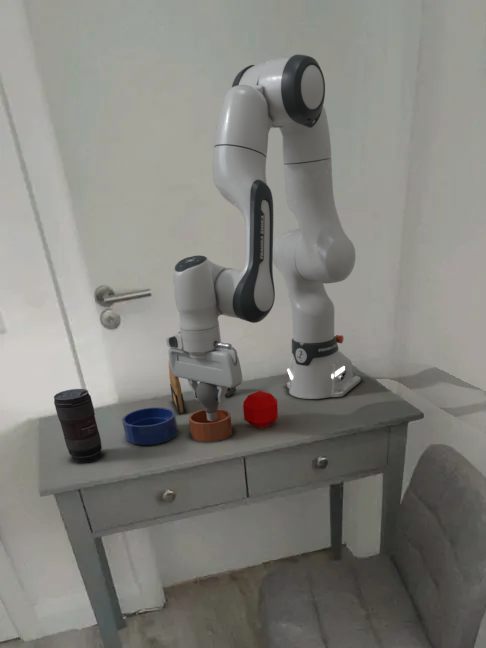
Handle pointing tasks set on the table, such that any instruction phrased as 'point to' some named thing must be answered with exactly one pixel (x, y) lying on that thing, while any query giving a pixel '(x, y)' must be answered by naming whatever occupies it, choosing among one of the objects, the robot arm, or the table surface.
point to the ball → (260, 409)
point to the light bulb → (208, 399)
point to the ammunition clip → (176, 392)
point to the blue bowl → (150, 426)
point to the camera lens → (78, 424)
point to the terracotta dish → (210, 426)
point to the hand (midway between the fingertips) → (209, 399)
